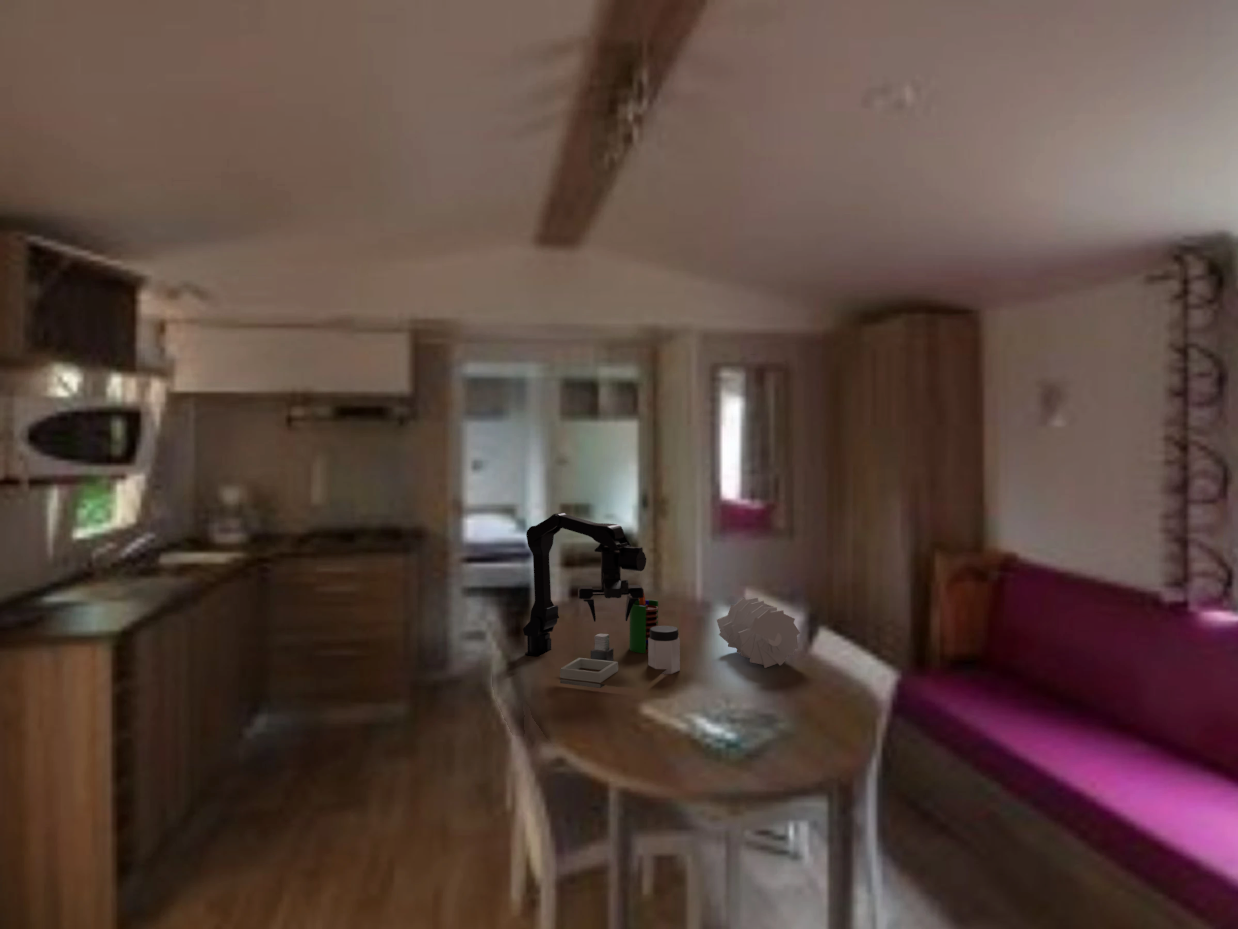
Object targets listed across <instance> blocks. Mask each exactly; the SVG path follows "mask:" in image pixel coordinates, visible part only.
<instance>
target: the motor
mask: <svg viewBox="0 0 1238 929" xmlns="http://www.w3.org/2000/svg"><path fill="white" fill-rule="evenodd" d="M655 626H659V600H655V599H646V596H645V594H644V597H643V598H639V600H638V601H635V603H634V604H633V606H632V608H631V610H630V614H629V638H628V639H629V640H628V641H629V644H628V645H629V651H631V652H633V653H637V654H638V653H639V654H646V653H648V638H649V637H650V628H651V627H655ZM646 648H647V649H646Z"/></svg>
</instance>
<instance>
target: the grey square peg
mask: <svg viewBox="0 0 1238 929" xmlns="http://www.w3.org/2000/svg"><path fill="white" fill-rule="evenodd" d="M590 659H596V660H605V661H614V648H613V647H610V634H608V633H598V634H596V635H594V648H593V649H591V650H590Z"/></svg>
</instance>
